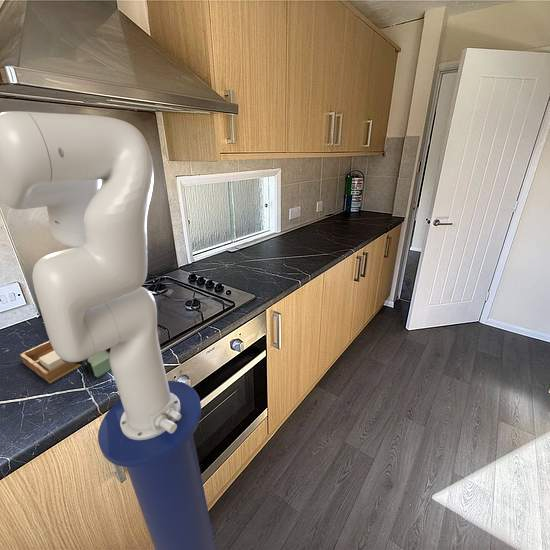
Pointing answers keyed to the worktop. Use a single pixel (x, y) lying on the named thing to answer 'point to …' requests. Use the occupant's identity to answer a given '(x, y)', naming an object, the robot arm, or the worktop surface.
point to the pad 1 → (50, 361)
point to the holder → (34, 363)
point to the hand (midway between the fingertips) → (101, 366)
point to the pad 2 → (100, 363)
